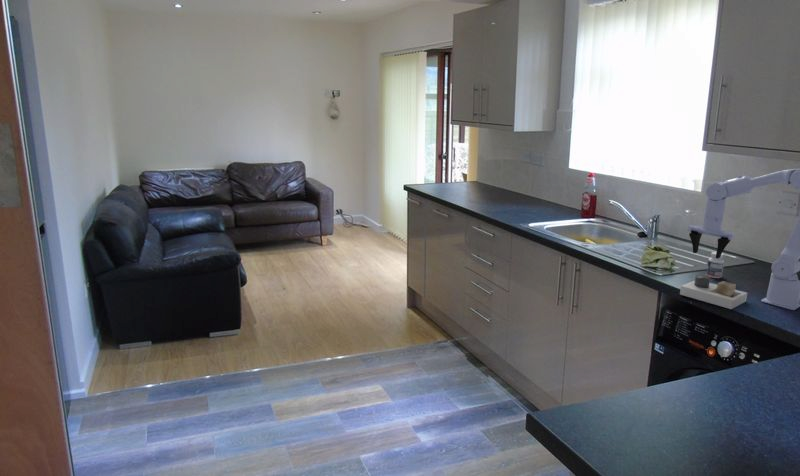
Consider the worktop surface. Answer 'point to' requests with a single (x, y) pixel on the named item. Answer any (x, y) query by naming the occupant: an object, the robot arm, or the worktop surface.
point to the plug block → (726, 289)
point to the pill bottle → (715, 266)
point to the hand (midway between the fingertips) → (706, 255)
